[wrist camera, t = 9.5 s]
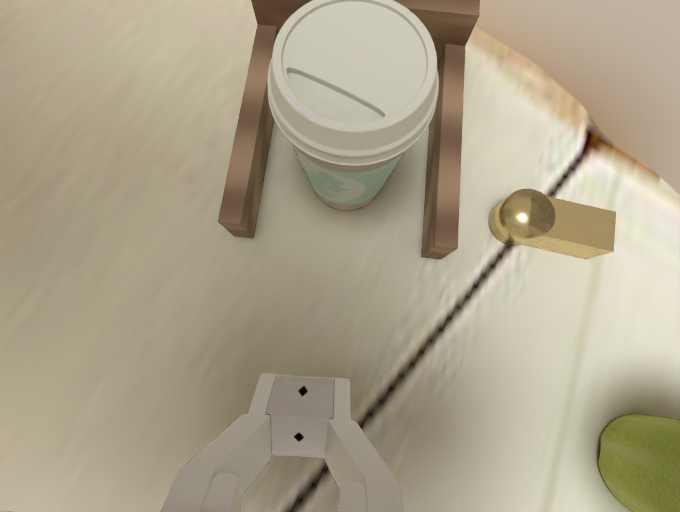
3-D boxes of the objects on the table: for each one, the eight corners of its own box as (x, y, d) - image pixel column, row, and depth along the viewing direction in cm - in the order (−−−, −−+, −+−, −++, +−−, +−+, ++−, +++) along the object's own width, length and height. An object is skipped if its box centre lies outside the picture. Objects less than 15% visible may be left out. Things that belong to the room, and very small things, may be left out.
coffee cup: (275, 157, 27) (227, 25, 15) (365, 113, 28) (387, -45, 16) (325, 246, 25) (316, 177, 13) (419, 196, 26) (487, 90, 14)
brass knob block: (485, 239, 25) (501, 230, 23) (492, 197, 26) (508, 183, 24) (586, 262, 25) (613, 255, 23) (589, 219, 26) (616, 208, 23)
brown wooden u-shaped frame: (440, 259, 25) (497, 222, 16) (234, 235, 25) (179, 187, 16) (450, 58, 29) (501, -61, 20) (271, 39, 29) (242, -86, 20)
